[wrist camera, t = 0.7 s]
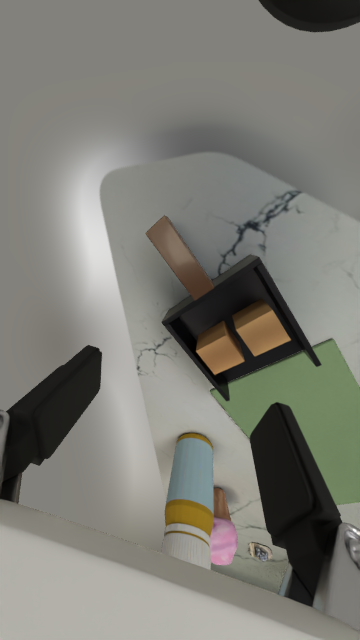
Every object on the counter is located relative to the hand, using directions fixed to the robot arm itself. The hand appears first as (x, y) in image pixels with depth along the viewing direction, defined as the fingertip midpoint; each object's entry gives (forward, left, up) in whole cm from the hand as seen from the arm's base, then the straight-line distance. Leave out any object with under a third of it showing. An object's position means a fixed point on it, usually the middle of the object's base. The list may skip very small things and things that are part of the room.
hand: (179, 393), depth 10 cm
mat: (+6, +31, -15) cm, 35 cm away
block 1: (+2, +5, -14) cm, 15 cm away
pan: (-2, +2, -15) cm, 15 cm away
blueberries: (+43, +58, -15) cm, 74 cm away
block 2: (-3, +7, -14) cm, 16 cm away
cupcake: (+32, +32, -15) cm, 48 cm away
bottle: (+22, +18, -15) cm, 32 cm away
